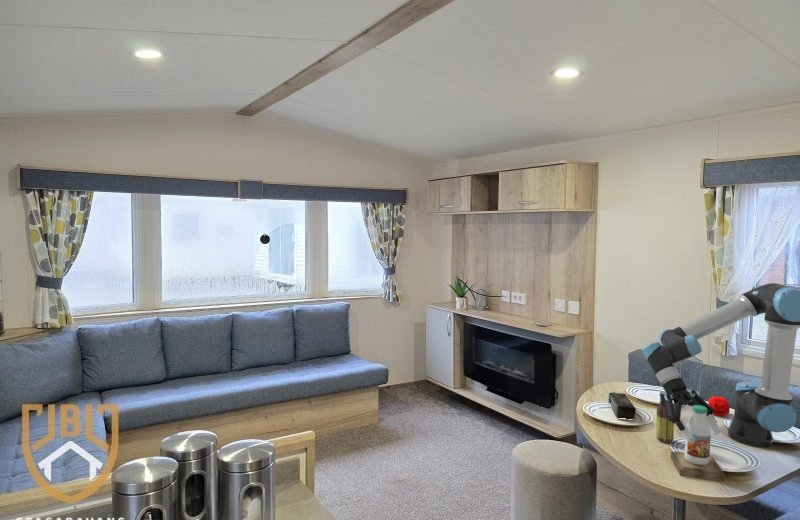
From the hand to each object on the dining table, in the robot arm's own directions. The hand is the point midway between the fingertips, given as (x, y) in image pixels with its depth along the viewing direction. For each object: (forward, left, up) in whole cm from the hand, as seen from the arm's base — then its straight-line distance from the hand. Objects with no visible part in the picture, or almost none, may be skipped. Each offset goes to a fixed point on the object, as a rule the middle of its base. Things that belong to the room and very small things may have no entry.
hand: (704, 436), depth 182 cm
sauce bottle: (+7, -24, -13) cm, 28 cm away
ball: (-23, -60, -13) cm, 65 cm away
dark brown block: (+20, -51, -14) cm, 57 cm away
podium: (+1, -2, -13) cm, 13 cm away
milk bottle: (+2, -2, -10) cm, 11 cm away
